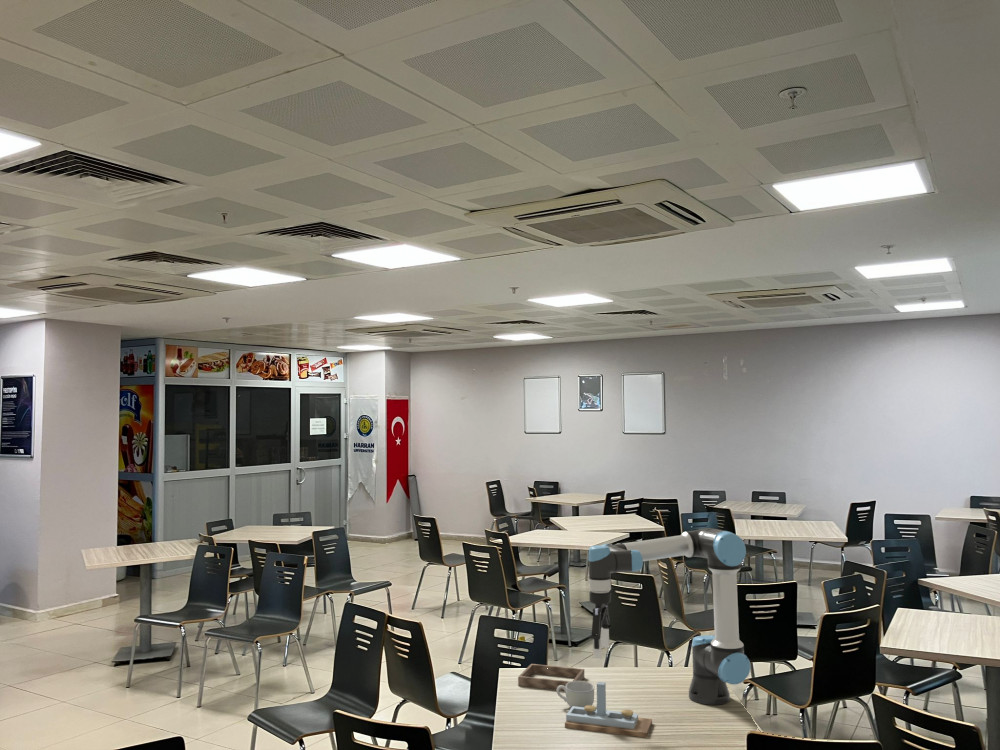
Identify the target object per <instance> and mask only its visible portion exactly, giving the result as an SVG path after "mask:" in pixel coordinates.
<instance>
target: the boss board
mask: <svg viewBox="0 0 1000 750" xmlns="http://www.w3.org/2000/svg"><path fill="white" fill-rule="evenodd" d="M596 709H597V706H595V705H593V704H592V705H587V706H585V707H584V710H585V711H587V714H590V715H593V712H594V711H596ZM620 712H621V714H622V715H624V719H630V716H632V715H633V713H634V710H631V709H623V710H621V711H620ZM652 725H653V719H652V718H647V717H646V718H645V717H644V718H643V717H638V721H637V724H636V726H635V728H634V729H629V728H621V727H613V726H604V725H596V724H588V723H580V722H572V721H566V720H565V722H564V728H566V729H567V728H568V729H573V730H574V729H576V730H583V731H589V732H590V731H591V732H597V733H598V732H600V733H607V734H613V735H614V734H615V735H623V736H629V737H638V738H648V735H649V732H651V731H650V730H651V727H652Z"/></svg>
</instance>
